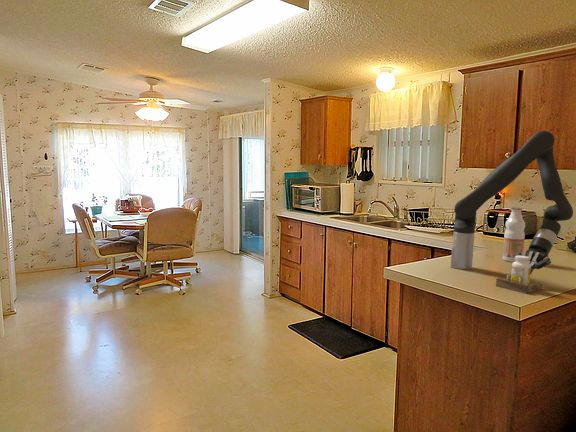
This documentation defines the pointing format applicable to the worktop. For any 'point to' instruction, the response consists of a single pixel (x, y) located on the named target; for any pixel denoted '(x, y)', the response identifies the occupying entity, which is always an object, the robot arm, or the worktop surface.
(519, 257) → the supplement bottle
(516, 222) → the fruit juice
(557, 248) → the worktop surface
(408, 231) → the worktop surface
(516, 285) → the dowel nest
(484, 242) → the worktop surface
